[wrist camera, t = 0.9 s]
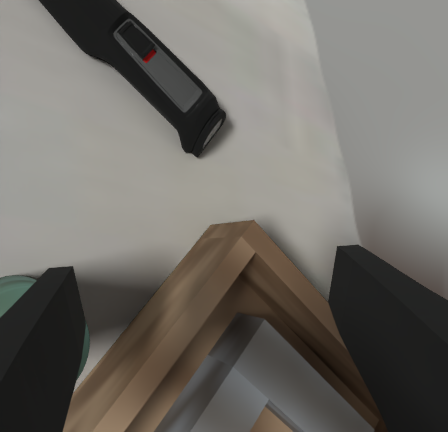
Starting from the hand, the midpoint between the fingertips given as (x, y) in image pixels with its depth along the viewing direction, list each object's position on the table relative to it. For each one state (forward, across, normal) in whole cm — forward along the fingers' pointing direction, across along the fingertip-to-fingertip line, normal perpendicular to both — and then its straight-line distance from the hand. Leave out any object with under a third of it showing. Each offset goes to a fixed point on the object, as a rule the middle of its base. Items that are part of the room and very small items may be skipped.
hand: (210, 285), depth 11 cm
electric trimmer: (+18, +4, -3) cm, 18 cm away
